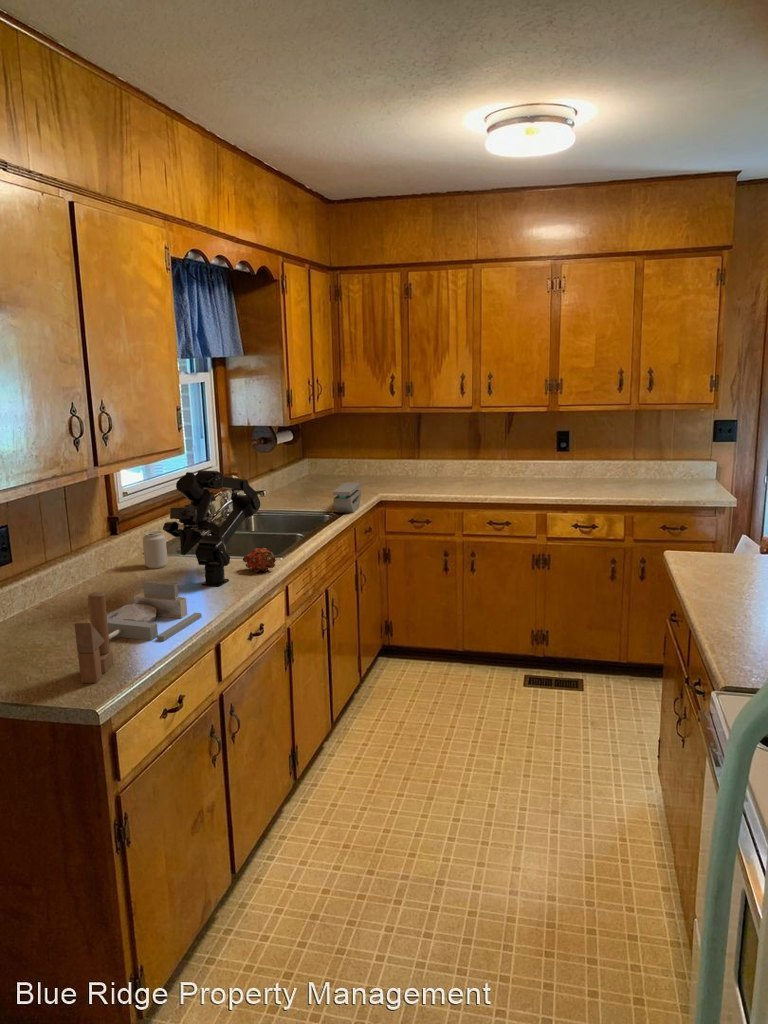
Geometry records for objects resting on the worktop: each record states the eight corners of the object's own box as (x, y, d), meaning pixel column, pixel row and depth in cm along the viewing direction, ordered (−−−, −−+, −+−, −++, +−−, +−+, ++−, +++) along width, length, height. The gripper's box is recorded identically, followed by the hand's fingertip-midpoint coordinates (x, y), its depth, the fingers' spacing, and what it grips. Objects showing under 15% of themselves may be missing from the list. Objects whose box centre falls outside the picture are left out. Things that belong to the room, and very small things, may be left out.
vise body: (125, 609, 213) (123, 597, 212) (201, 617, 205) (200, 605, 205) (53, 647, 186) (51, 633, 185) (138, 657, 178) (136, 643, 178)
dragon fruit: (277, 577, 246) (246, 579, 250) (284, 557, 252) (252, 560, 256) (266, 561, 240) (234, 564, 245) (273, 541, 246) (242, 544, 250)
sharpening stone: (350, 516, 330) (349, 492, 328) (333, 515, 331) (332, 491, 329) (361, 504, 354) (361, 482, 352) (345, 504, 356) (345, 482, 353)
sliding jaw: (141, 610, 212) (138, 579, 210) (187, 614, 207) (185, 584, 206) (135, 613, 209) (132, 583, 207) (181, 618, 205) (178, 587, 203)
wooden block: (80, 683, 165) (72, 606, 161) (98, 663, 175) (91, 591, 172) (97, 683, 165) (88, 606, 161) (114, 663, 175) (107, 590, 172)
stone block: (158, 621, 208) (122, 615, 208) (160, 605, 207) (124, 599, 206) (147, 639, 197) (108, 632, 196) (149, 622, 196) (110, 616, 195)
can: (149, 563, 260) (146, 530, 257) (170, 563, 260) (168, 529, 257) (141, 569, 253) (138, 535, 250) (163, 569, 252) (160, 535, 250)
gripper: (158, 496, 224) (141, 543, 217) (203, 493, 214) (187, 542, 208) (183, 513, 232) (167, 559, 226) (228, 510, 222) (212, 558, 216)
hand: (182, 554), depth 219 cm, fingers closed
